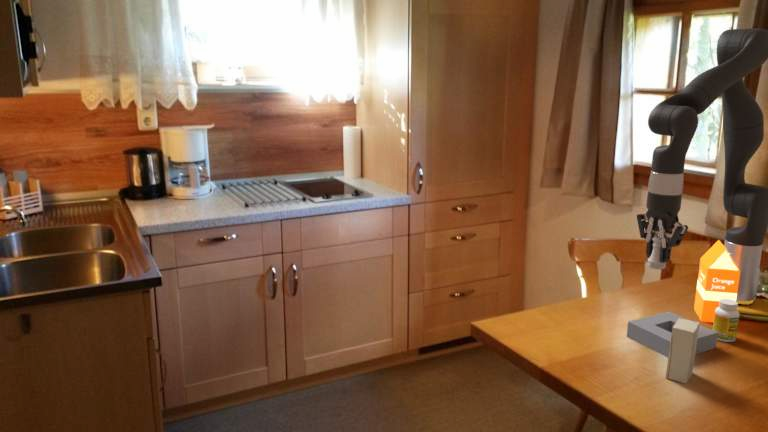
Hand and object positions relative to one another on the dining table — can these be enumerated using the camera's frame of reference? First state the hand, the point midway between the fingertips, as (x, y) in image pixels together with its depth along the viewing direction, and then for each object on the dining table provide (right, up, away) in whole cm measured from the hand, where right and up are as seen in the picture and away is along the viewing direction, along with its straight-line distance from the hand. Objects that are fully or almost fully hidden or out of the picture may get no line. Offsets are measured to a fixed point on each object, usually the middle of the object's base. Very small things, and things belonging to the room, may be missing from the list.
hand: (657, 259), depth 154 cm
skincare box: (-2, -24, -17) cm, 30 cm away
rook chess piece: (0, -2, +1) cm, 2 cm away
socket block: (+3, -20, -1) cm, 20 cm away
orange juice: (+21, -16, +14) cm, 30 cm away
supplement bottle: (+17, -20, +1) cm, 26 cm away
